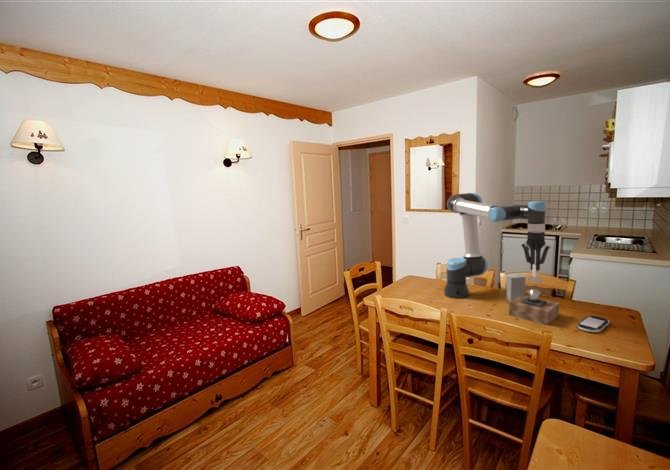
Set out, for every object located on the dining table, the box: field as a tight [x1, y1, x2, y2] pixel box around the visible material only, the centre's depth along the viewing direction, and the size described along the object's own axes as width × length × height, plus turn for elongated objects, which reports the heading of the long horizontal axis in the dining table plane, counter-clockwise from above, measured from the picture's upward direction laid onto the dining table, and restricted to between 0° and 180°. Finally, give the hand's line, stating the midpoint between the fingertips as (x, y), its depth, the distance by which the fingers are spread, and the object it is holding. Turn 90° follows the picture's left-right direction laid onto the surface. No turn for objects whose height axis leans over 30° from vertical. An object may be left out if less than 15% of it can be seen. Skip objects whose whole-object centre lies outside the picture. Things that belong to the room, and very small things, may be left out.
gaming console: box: [576, 315, 610, 334], centre depth 153 cm, size 19×9×2 cm, turn 124°
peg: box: [529, 288, 540, 303], centre depth 167 cm, size 4×4×8 cm
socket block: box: [508, 294, 560, 326], centre depth 168 cm, size 18×16×8 cm
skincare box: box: [506, 273, 526, 302], centre depth 189 cm, size 8×7×16 cm
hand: (534, 276), depth 165 cm, fingers closed
